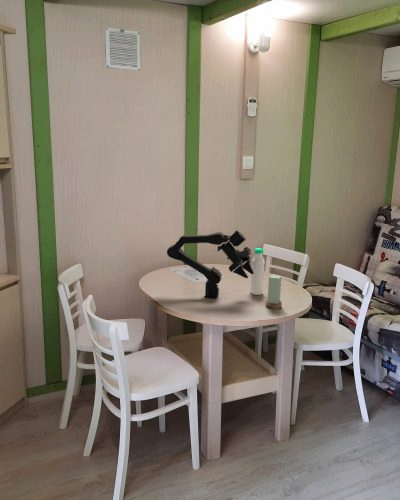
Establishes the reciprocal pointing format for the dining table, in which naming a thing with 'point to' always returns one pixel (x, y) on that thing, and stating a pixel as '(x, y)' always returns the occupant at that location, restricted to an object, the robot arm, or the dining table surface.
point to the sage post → (274, 289)
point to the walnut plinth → (273, 305)
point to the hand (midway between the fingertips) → (250, 275)
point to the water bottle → (257, 273)
